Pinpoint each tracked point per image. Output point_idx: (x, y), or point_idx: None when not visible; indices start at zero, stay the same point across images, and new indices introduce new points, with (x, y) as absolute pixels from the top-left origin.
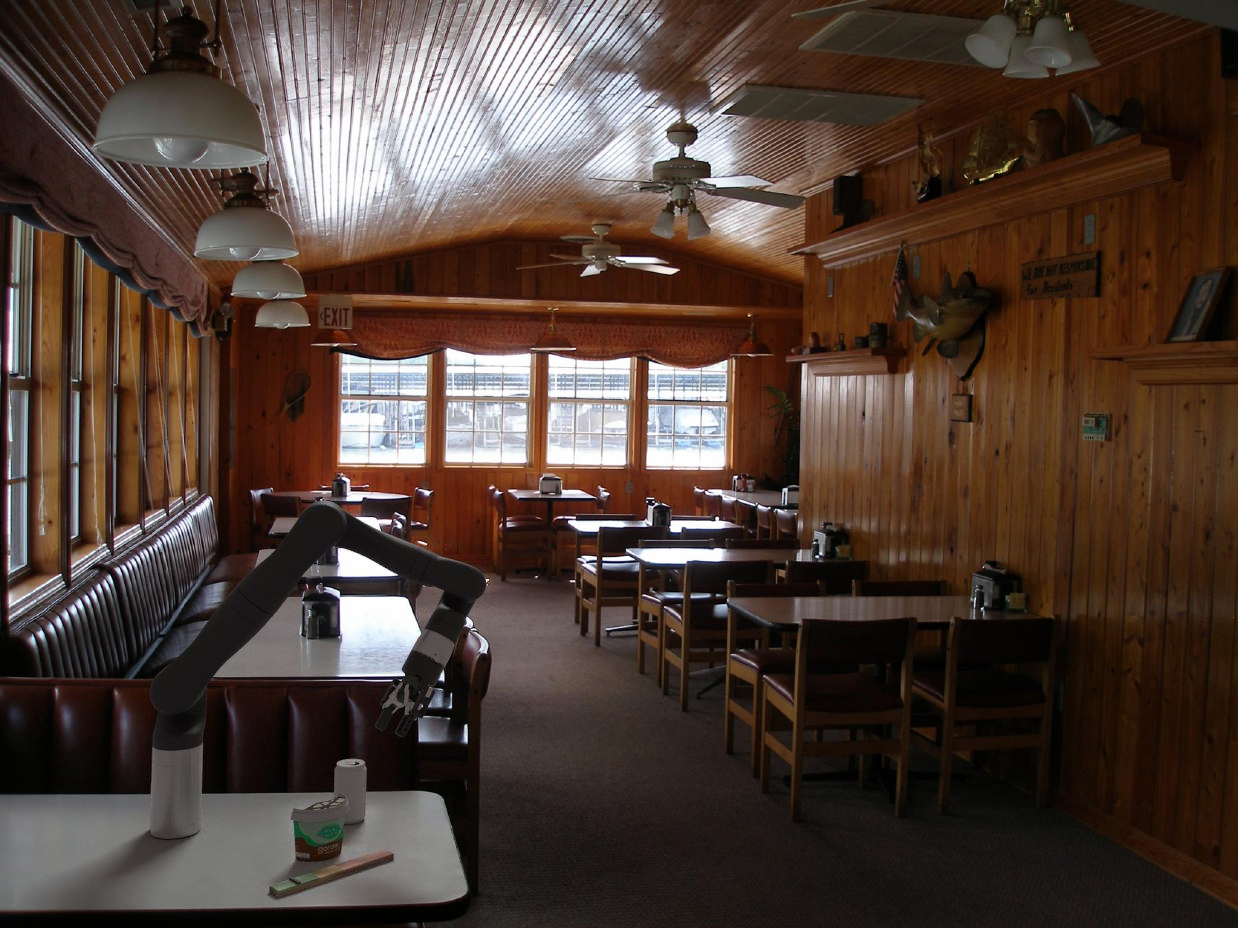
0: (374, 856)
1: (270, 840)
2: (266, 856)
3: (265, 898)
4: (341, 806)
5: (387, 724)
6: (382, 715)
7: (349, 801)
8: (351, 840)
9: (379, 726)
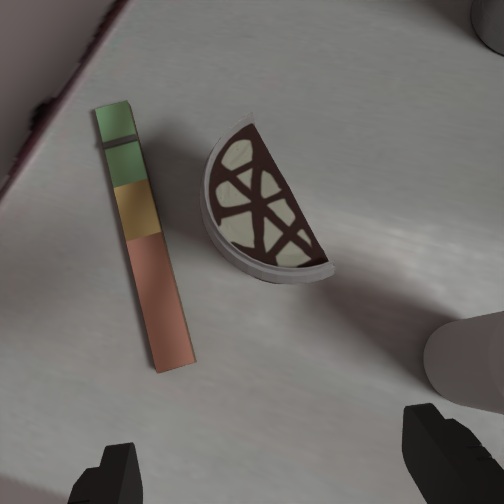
0: (161, 325)
1: (392, 165)
2: (304, 139)
3: (107, 96)
4: (221, 237)
5: (424, 496)
6: (450, 470)
7: (446, 346)
8: (318, 322)
9: (409, 429)
